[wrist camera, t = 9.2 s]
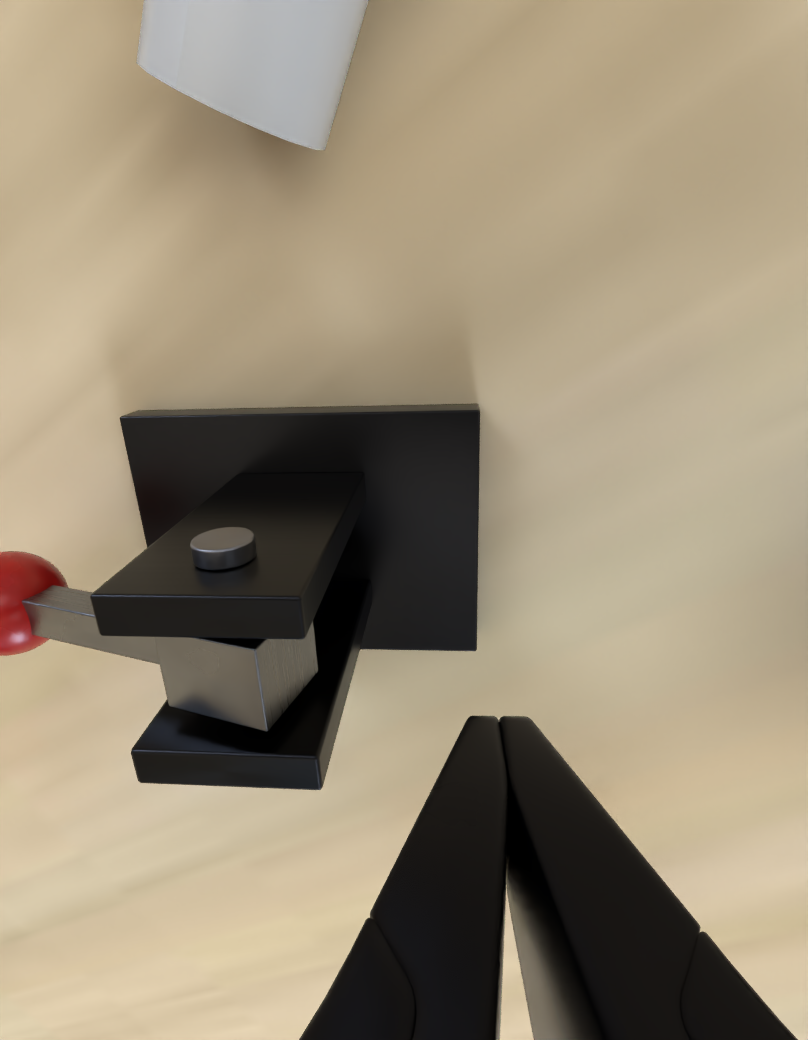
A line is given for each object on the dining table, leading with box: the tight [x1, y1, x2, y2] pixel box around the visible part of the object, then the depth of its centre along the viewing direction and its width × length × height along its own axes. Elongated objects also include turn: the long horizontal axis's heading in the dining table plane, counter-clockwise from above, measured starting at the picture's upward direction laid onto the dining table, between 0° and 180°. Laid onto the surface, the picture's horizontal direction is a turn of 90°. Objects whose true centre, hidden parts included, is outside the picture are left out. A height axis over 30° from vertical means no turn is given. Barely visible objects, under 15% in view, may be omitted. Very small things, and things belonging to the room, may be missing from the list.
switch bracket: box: [90, 404, 480, 790], centre depth 17 cm, size 12×9×10 cm
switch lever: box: [0, 551, 318, 731], centre depth 15 cm, size 11×3×3 cm, turn 91°
